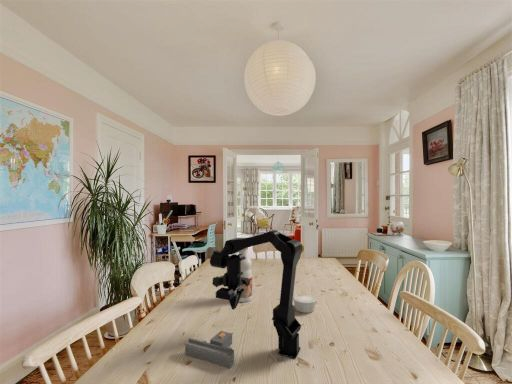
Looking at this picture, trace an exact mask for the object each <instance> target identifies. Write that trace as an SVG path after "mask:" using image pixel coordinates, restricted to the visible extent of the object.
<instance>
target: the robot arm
mask: <svg viewBox="0 0 512 384" xmlns="http://www.w3.org/2000/svg"><path fill="white" fill-rule="evenodd" d="M267 243H270V244H272V246H273V247H274V248H275V249H276V250H277V251H278V252H279V253H280V259H281V262H282V265H283V266H282V277H281V286H280V296H279V297H280V298H279V303H278V304H277V305H276V306H275V307H274V308H273V309H272V318H271V321H272V324H273V327H274V329H275V330H276V334H277V337H278V346H277V347H278V355H281V356H285V357H288V358H292V359H297V357H298V356H299V352H300V351H301V347H300V333H299V332H300V330H301V328H302V325H301V323H300V322H299V320H297V318H296V313H295V310H296V309H295V306H294V300H293V297H294V291H295V284H296V283H295V281H296V271H297V265H298V263H299V260H300V259H301V257H302V256H301V255H302V252H303V245H302V243H301V242H300V241H299V240H297V239H294V238H292V237H290V236H288V235H285V234H283V233H281V232H280V231H278V230H276V229H273V230H269V231H267V232H264V233H260V234H257V235H252V236H249V237H235V238H231V239H228V240H227V239H226V241H225V242H224V245H223V248H222V249H221V250H218V249H217V250H213V252H212V255H211V256H210V259H209V264H210V266H211V267H213V268H219V269H226V272H225V273H224V274H223V275H220V276H214V277H212V283H211V284H212V285H213V286H214V287H216V288H218V287H221V286H223V287H221V288H219V289H218V290H216V291H215V298H216V299H220V300H226V301H228V302H229V305H230V307H231V309H232V310H233V311H234V310H235V309H237V307H238V304H239V303H240V302H239V300H240V298H241V296H242V293H243V291H244V289H241V286H242V285H243V284H245V285H246V286H249V285H250V280H249V279H248V278H244V277H241V275H242V274H243V272H241V261H242V260H244V259H246V258H245V257H244V256H243V255H242V253H241V254H239V252H240V251H242V250H244V249H246V248H248V249H249V248H250V247H254V246H258V245H264V244H267ZM237 253H238V254H237Z"/></svg>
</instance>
